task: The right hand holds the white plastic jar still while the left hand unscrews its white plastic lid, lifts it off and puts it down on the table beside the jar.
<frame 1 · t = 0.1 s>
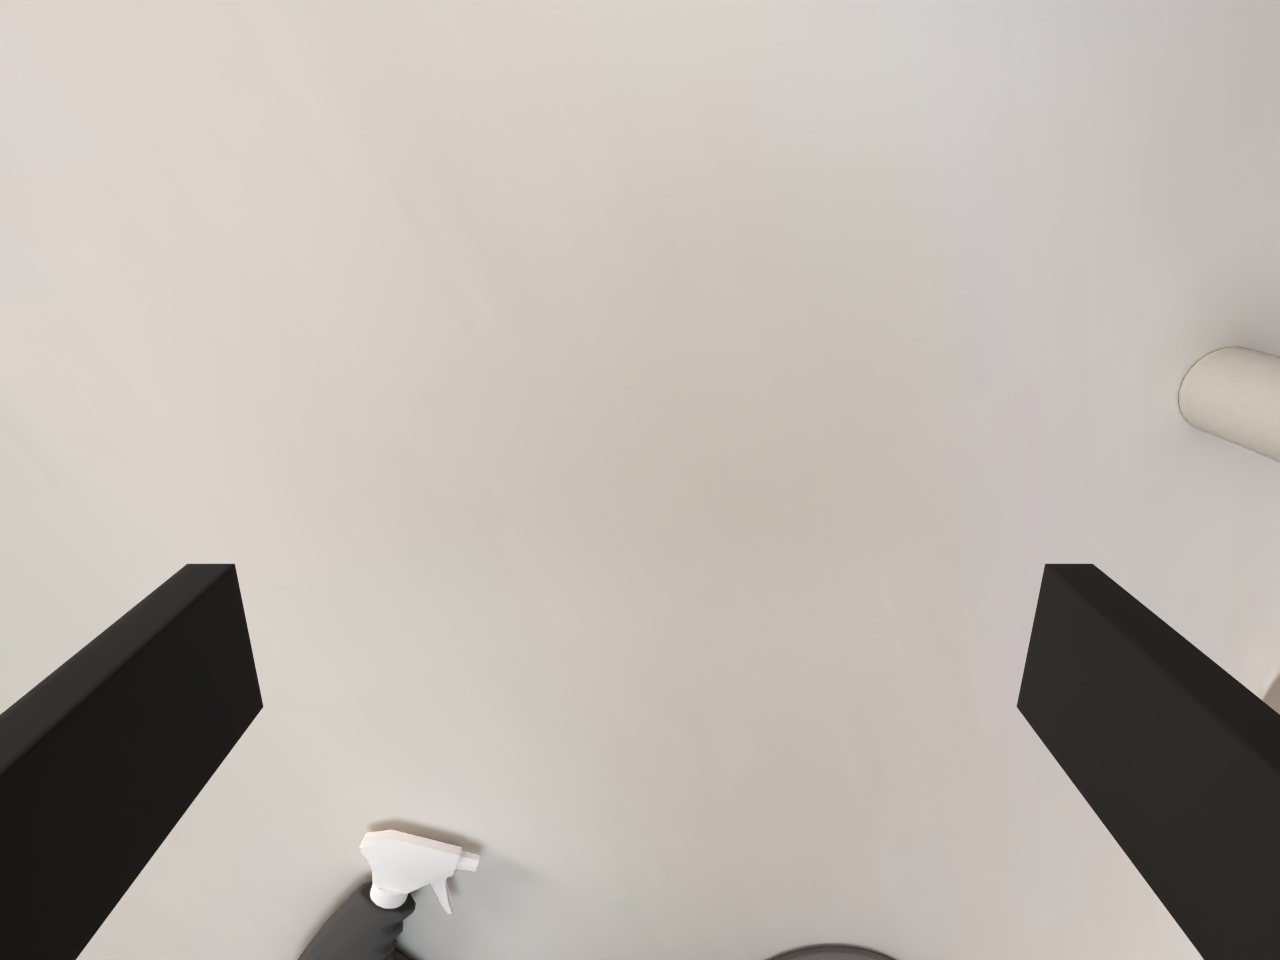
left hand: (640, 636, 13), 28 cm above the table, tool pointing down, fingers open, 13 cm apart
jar: (1222, 389, 40), on the table
spray bottle: (381, 954, 54), on the table
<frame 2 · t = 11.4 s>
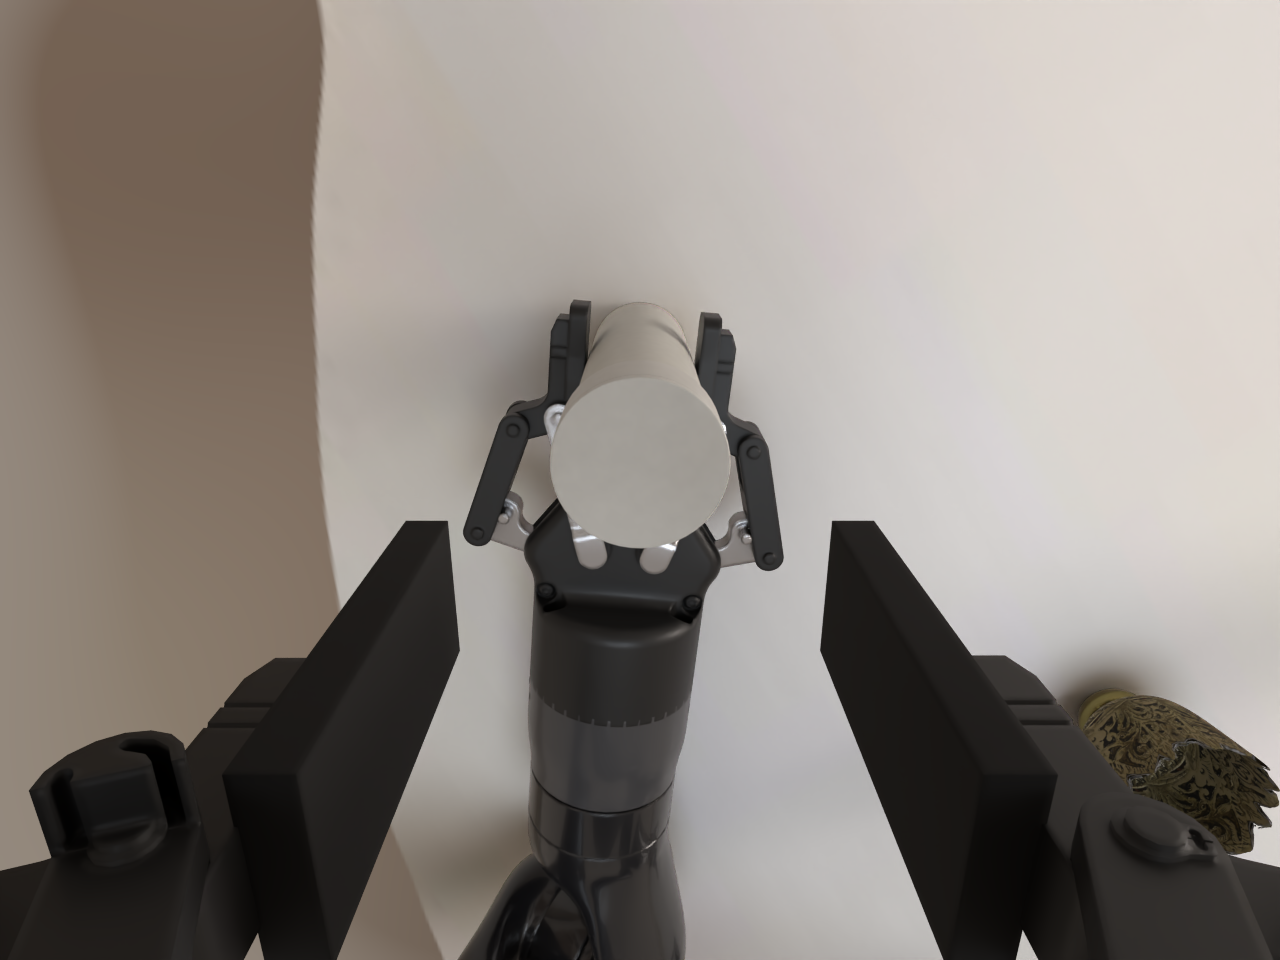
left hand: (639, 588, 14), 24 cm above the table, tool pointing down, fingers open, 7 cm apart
cup: (1102, 707, 44), on the table
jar: (639, 349, 37), on the table, touching right hand
lid: (640, 462, 21), point 17 cm above the table, screwed on, not yet turned
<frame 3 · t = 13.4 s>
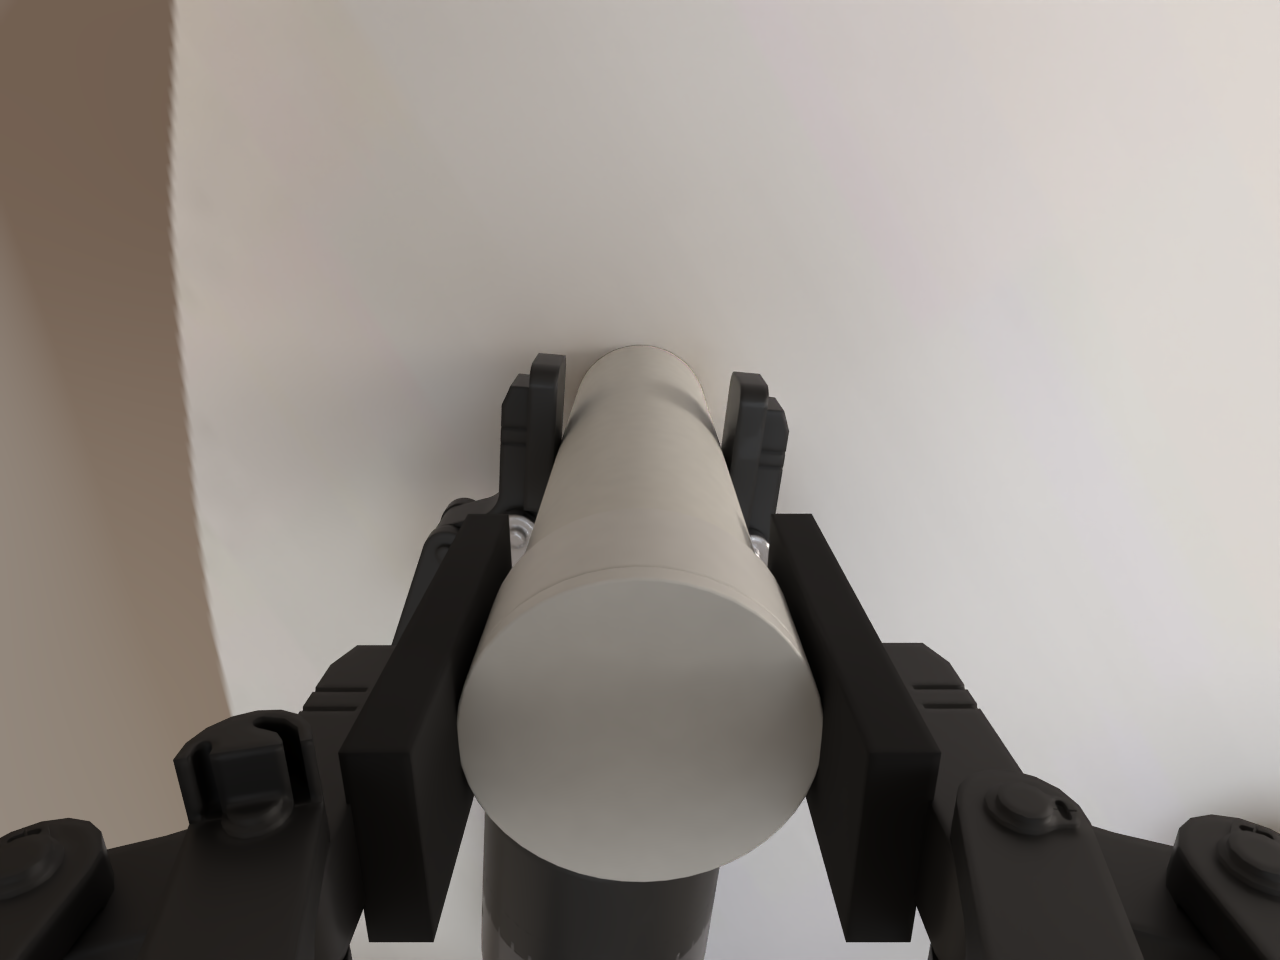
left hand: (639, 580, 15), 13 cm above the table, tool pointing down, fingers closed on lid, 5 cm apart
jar: (640, 409, 26), on the table, touching right hand
lid: (640, 726, 11), point 17 cm above the table, screwed on, not yet turned, touching left hand
when the left hand's fingers open (1 cm above the table, at t = 21.2 s): lid drops 3 cm, point 2 cm above the table.
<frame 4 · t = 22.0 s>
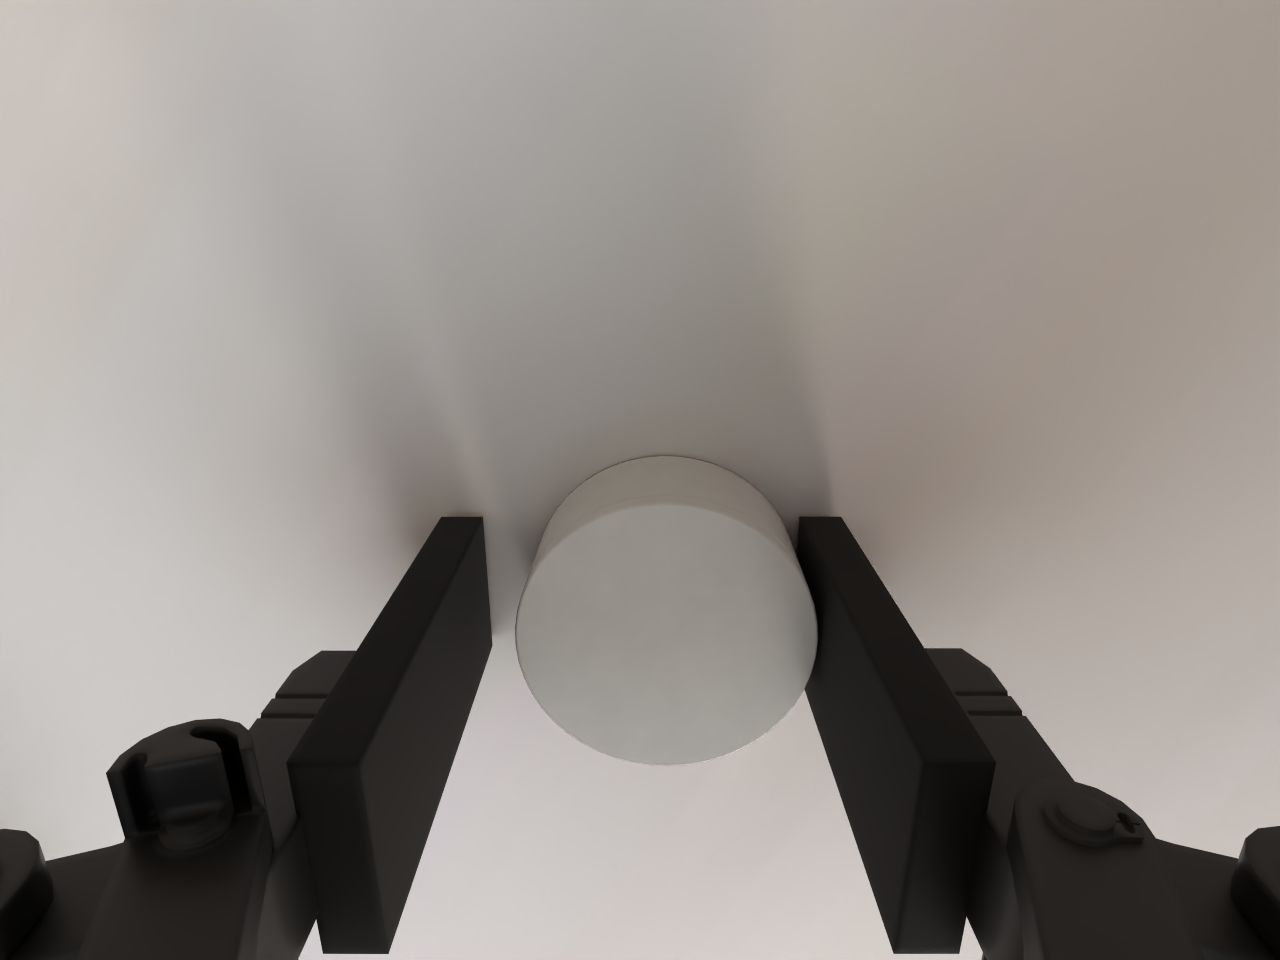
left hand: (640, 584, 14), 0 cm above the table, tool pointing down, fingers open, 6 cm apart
lid: (665, 632, 13), point 2 cm above the table, off its thread
when the right hand's fingers open (6 cm above the table, at t = 22.9 s): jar stays where it is, on the table.
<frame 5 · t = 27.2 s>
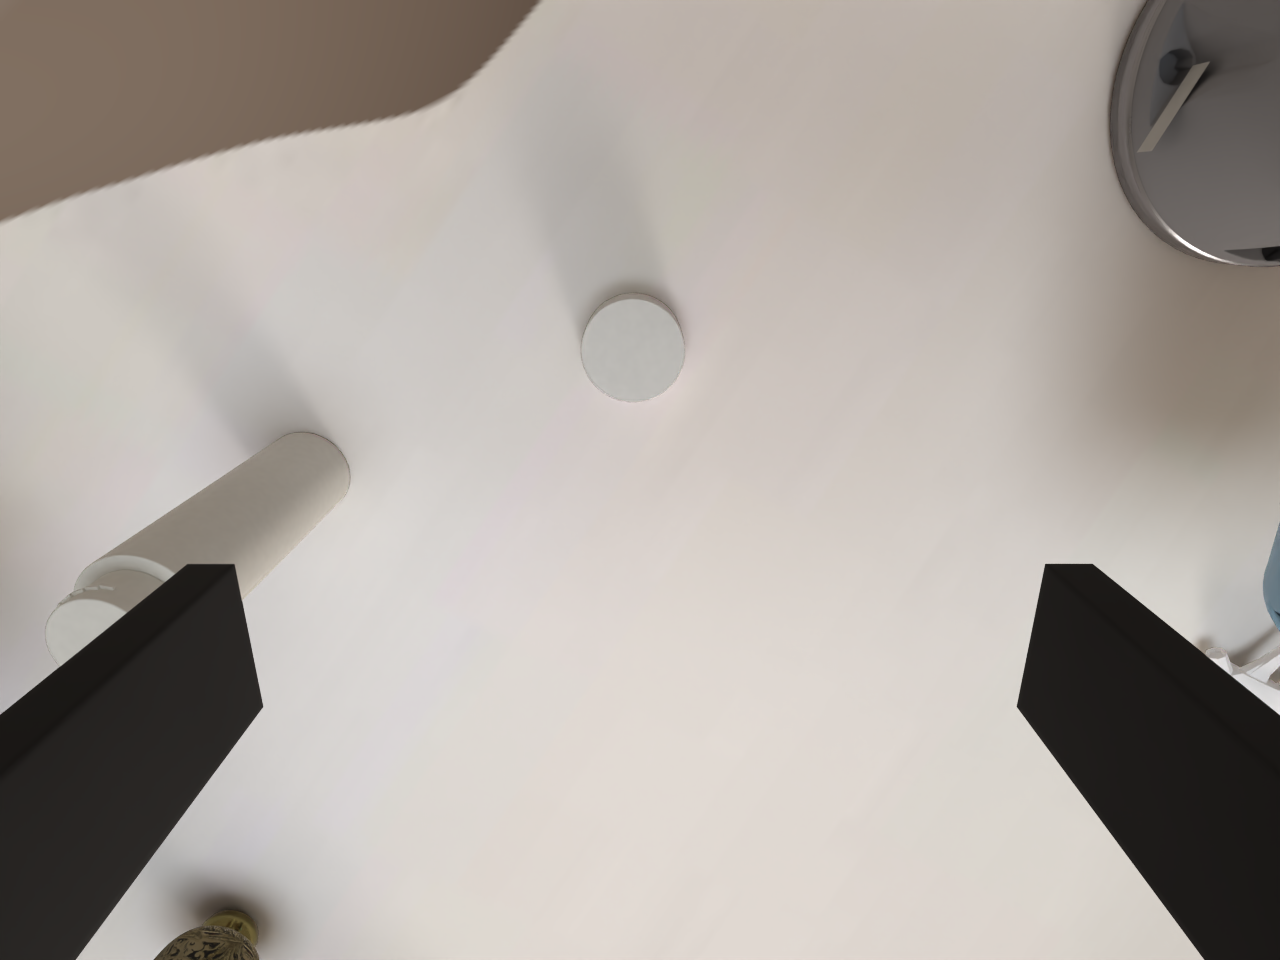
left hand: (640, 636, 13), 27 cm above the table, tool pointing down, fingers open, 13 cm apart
cup: (236, 922, 52), on the table
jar: (307, 472, 41), on the table
lid: (632, 350, 37), point 2 cm above the table, off its thread
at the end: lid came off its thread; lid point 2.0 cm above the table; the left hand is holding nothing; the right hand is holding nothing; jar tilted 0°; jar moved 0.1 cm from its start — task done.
